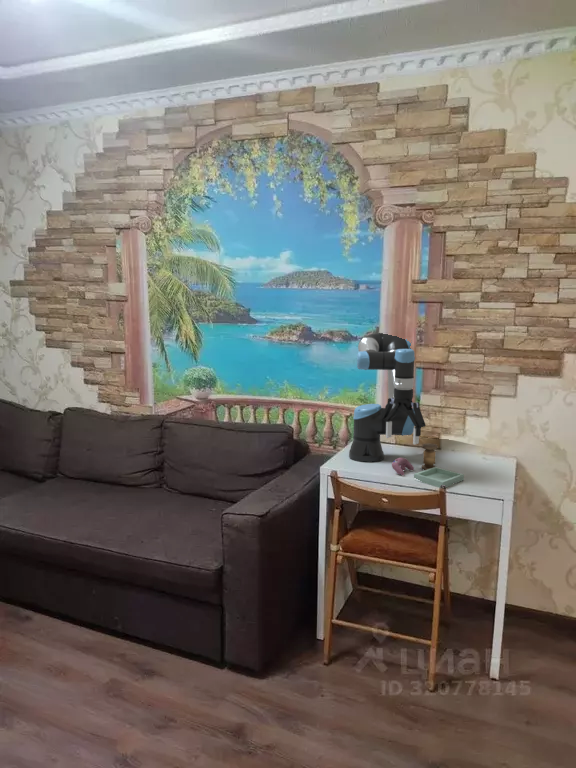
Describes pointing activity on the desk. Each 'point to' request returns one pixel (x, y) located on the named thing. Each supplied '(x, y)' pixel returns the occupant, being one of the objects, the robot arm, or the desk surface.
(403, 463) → the video game controller
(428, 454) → the bobbin
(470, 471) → the desk surface
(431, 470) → the green square tray
